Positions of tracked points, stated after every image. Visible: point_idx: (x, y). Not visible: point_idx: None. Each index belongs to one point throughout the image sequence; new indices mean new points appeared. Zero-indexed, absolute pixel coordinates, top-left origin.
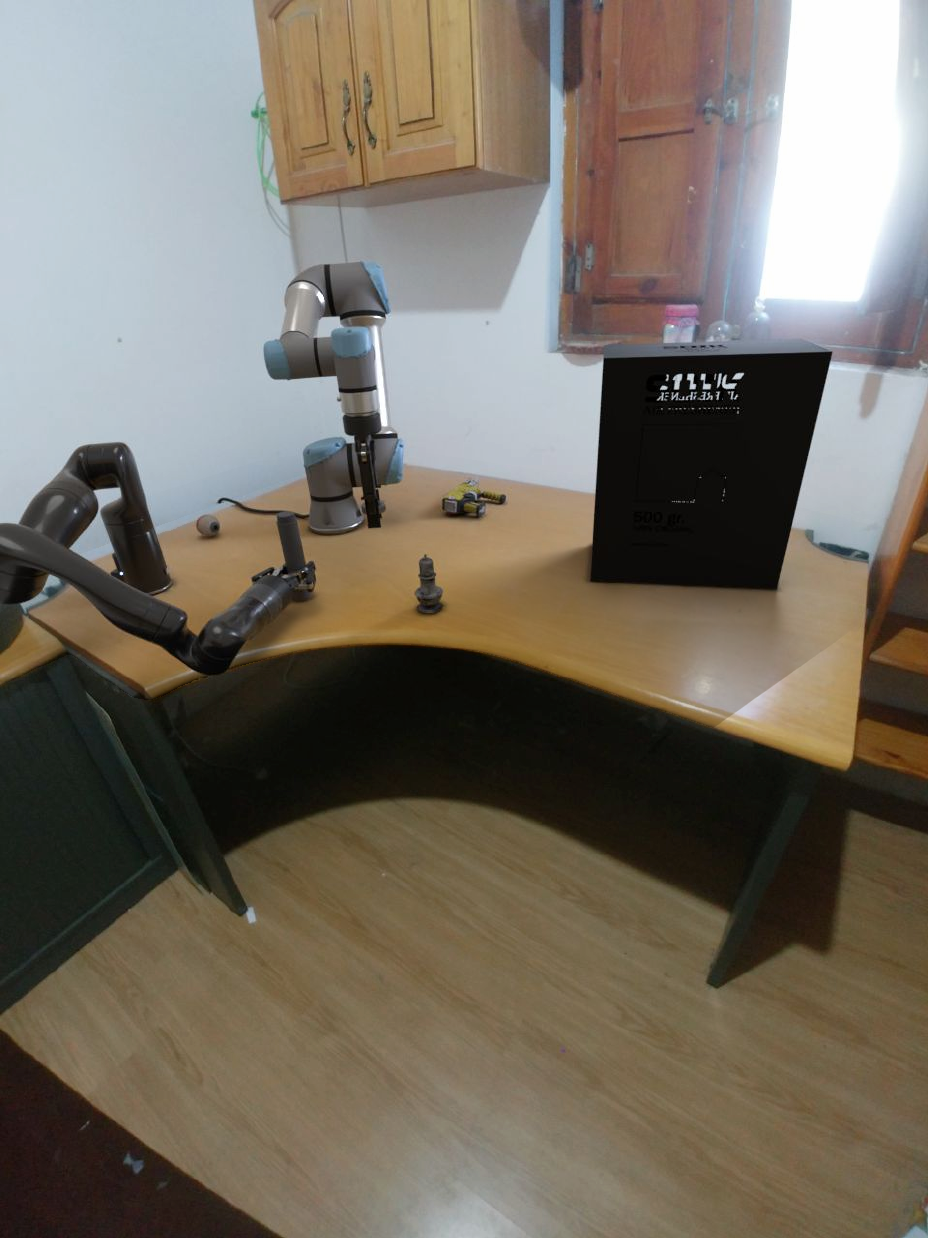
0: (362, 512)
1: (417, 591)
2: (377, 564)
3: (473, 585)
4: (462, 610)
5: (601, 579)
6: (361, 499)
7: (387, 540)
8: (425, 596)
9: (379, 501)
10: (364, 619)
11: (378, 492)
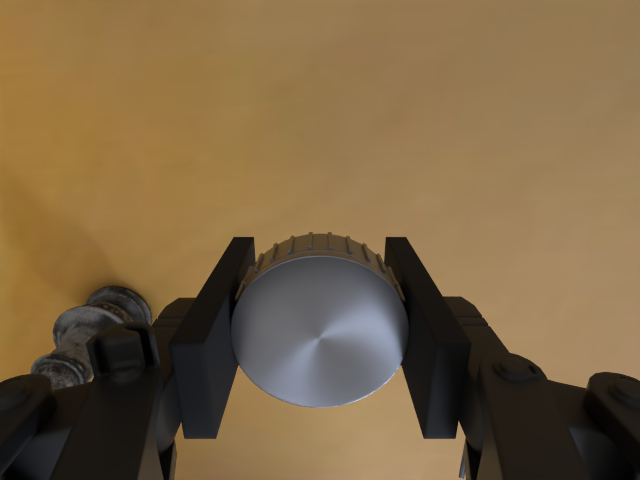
0: (290, 238)
1: (84, 317)
2: (427, 170)
3: (234, 407)
4: None
5: None
6: (104, 333)
7: (628, 199)
8: (59, 334)
9: (358, 376)
10: (49, 146)
11: (419, 418)
